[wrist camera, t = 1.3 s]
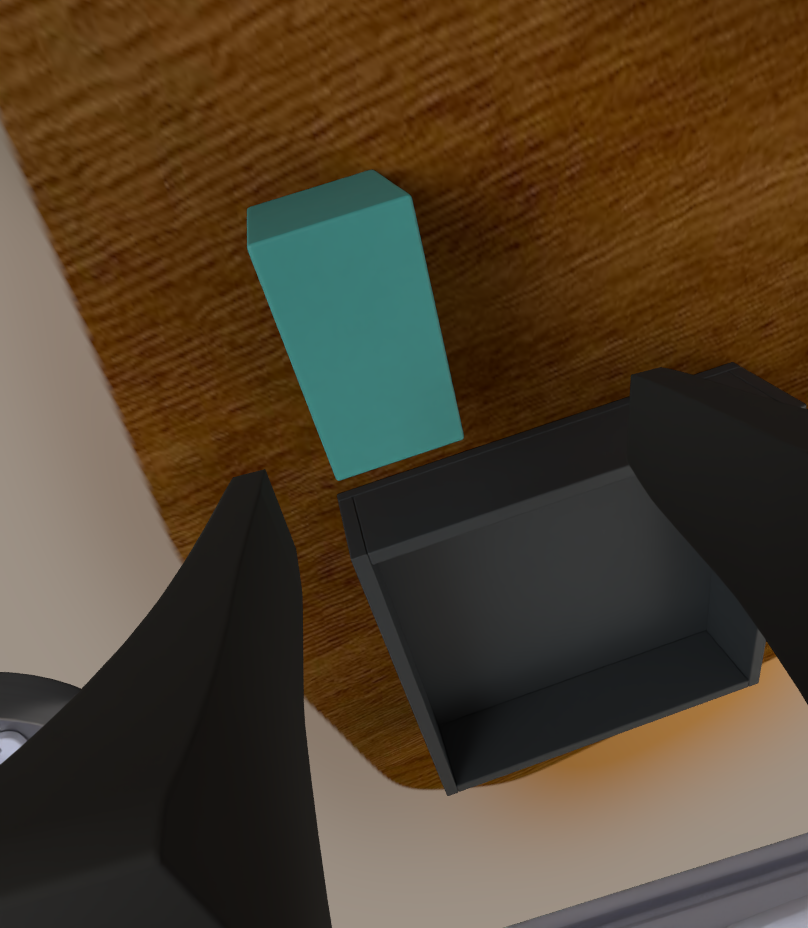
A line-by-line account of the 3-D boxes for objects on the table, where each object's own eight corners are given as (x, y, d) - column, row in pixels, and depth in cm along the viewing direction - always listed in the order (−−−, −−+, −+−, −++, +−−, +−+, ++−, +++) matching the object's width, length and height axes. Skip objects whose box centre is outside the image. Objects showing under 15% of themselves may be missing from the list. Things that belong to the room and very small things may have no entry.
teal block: (320, 406, 22) (337, 482, 18) (245, 207, 18) (245, 246, 14) (424, 372, 22) (465, 440, 18) (373, 168, 18) (411, 193, 14)
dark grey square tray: (427, 726, 34) (447, 796, 30) (336, 494, 24) (350, 559, 21) (710, 626, 34) (758, 683, 31) (732, 361, 25) (807, 404, 21)
